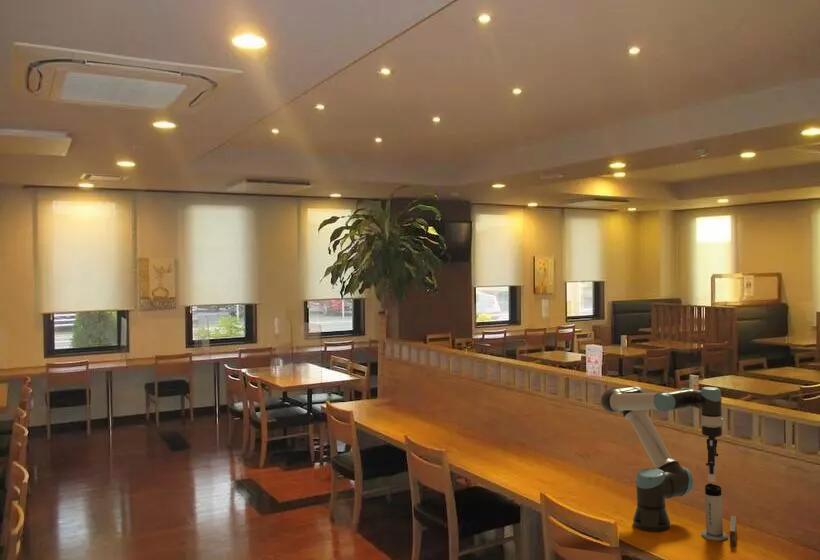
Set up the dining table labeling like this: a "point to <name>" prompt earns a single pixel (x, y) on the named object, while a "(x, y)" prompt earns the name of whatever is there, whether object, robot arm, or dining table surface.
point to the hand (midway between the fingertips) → (712, 476)
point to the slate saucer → (706, 536)
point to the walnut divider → (733, 531)
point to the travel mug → (713, 510)
